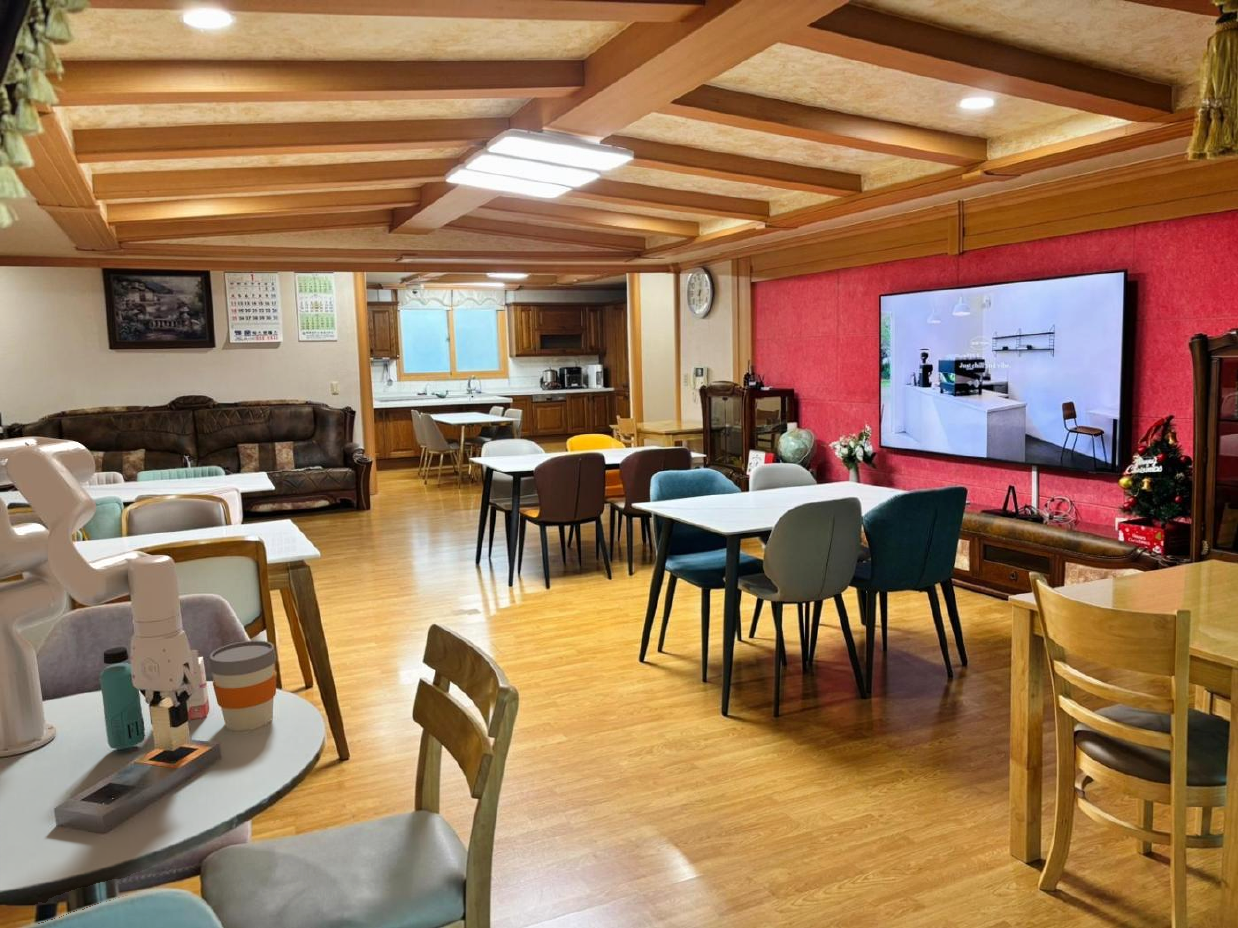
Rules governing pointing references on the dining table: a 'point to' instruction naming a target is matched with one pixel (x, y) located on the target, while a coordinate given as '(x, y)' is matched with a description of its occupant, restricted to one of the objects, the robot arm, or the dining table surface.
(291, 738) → the dining table surface
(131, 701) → the beverage bottle
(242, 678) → the reusable coffee cup
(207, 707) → the ink cartridge box
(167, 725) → the wooden block
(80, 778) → the dining table surface
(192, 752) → the grey flat rectangular block
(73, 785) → the dining table surface
